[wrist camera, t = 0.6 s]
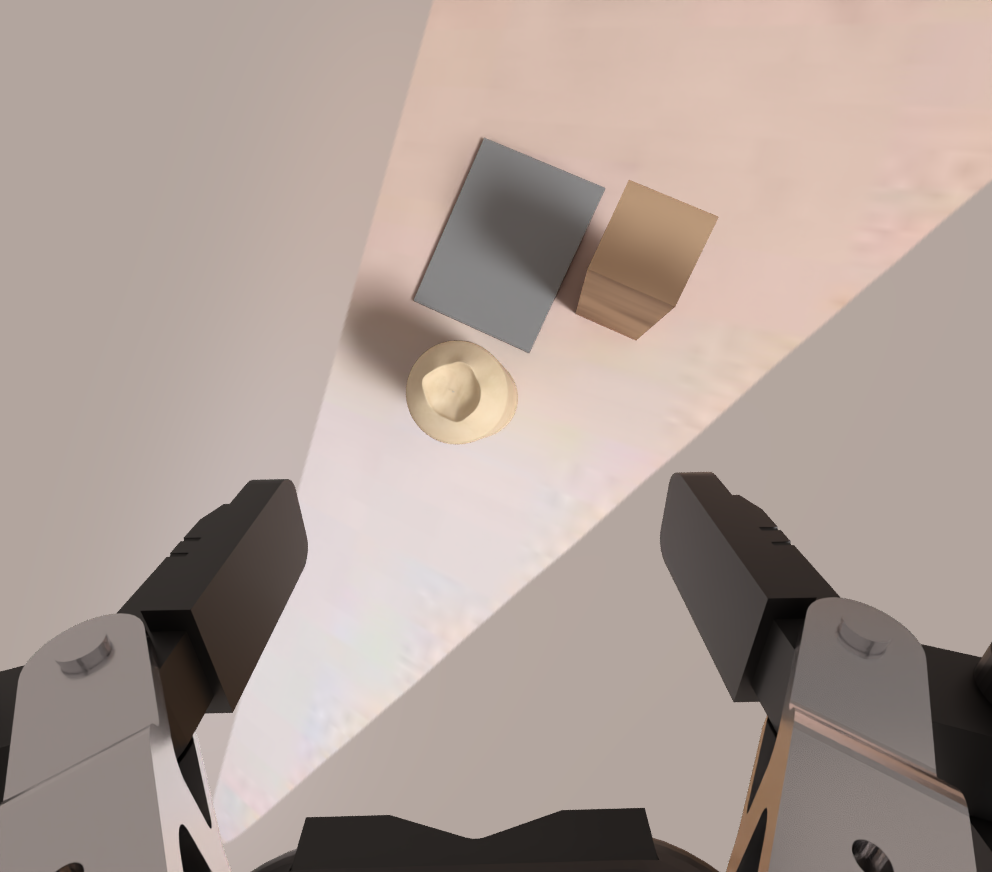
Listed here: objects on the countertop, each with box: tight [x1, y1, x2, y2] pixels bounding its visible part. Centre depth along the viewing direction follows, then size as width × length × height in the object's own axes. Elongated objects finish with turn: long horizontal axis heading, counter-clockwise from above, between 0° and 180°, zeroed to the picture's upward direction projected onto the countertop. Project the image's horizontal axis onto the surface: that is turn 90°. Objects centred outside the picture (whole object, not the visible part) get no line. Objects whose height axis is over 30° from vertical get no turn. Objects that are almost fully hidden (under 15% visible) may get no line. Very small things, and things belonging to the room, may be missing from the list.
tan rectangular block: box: [576, 180, 718, 340], centre depth 27 cm, size 4×5×10 cm
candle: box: [406, 341, 518, 444], centre depth 29 cm, size 6×6×10 cm
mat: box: [414, 138, 605, 353], centre depth 33 cm, size 12×9×1 cm
